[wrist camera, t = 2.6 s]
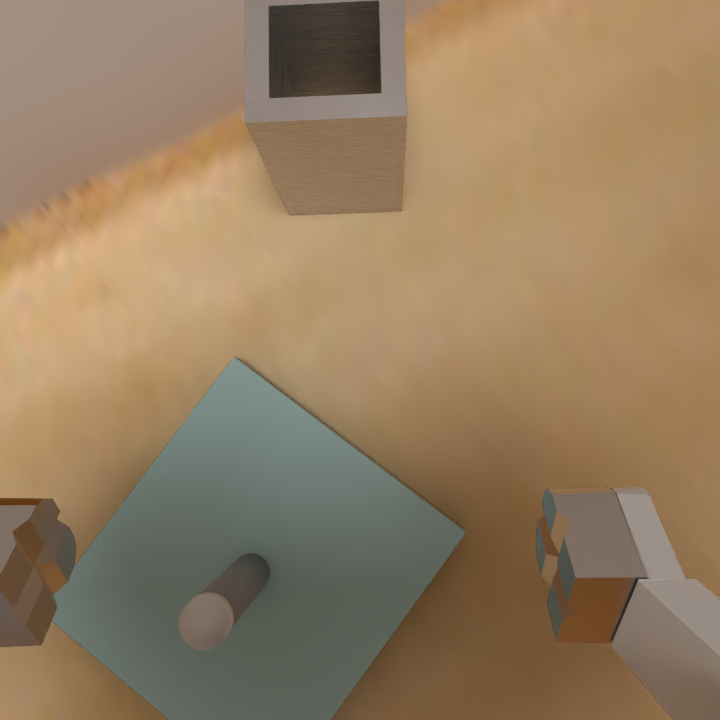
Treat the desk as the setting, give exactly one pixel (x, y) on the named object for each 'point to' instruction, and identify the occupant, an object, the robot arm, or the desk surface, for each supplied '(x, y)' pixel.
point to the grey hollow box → (328, 101)
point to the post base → (253, 564)
